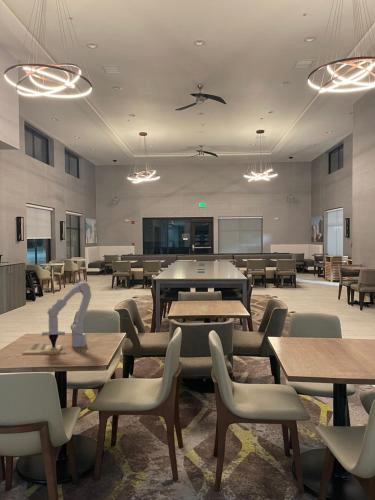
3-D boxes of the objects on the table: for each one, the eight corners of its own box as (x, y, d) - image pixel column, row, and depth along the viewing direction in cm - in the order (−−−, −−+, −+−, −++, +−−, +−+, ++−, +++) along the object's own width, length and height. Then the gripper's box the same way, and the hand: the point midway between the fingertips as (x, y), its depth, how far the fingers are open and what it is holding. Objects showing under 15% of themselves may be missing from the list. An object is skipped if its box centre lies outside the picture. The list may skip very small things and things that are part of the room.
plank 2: (62, 346, 270) (62, 344, 270) (59, 350, 264) (59, 349, 264) (47, 346, 270) (47, 345, 269) (44, 351, 264) (44, 349, 264)
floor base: (63, 348, 271) (63, 346, 271) (57, 354, 257) (57, 352, 257) (30, 349, 271) (30, 346, 271) (22, 355, 256) (22, 353, 256)
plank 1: (45, 344, 269) (45, 343, 268) (42, 351, 264) (42, 349, 263) (30, 345, 269) (29, 343, 268) (27, 351, 264) (27, 350, 263)
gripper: (66, 324, 272) (66, 344, 272) (44, 324, 271) (44, 344, 272) (63, 326, 265) (63, 347, 265) (40, 326, 264) (41, 347, 265)
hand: (53, 346), depth 268 cm, fingers closed, pressing on plank 2
